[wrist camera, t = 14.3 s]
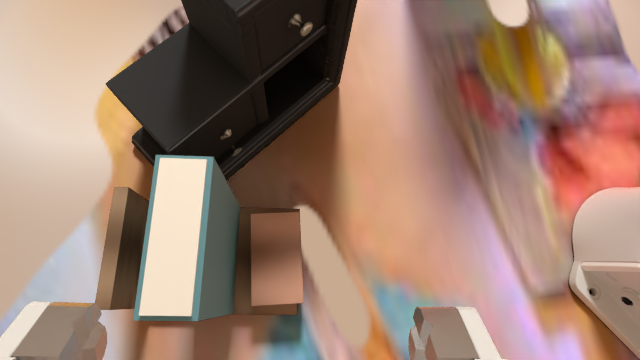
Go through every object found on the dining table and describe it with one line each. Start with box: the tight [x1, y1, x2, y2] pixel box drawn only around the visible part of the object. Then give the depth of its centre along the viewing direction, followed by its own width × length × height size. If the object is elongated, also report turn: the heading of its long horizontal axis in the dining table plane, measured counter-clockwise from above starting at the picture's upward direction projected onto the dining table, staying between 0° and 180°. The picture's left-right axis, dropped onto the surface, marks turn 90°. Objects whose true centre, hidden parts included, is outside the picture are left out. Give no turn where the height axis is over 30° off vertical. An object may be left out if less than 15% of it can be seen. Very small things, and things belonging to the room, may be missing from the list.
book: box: [133, 155, 241, 321], centre depth 35 cm, size 11×4×16 cm, turn 179°
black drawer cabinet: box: [106, 0, 357, 180], centre depth 37 cm, size 23×11×24 cm, turn 134°
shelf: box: [95, 187, 304, 315], centre depth 39 cm, size 11×17×10 cm, turn 89°
